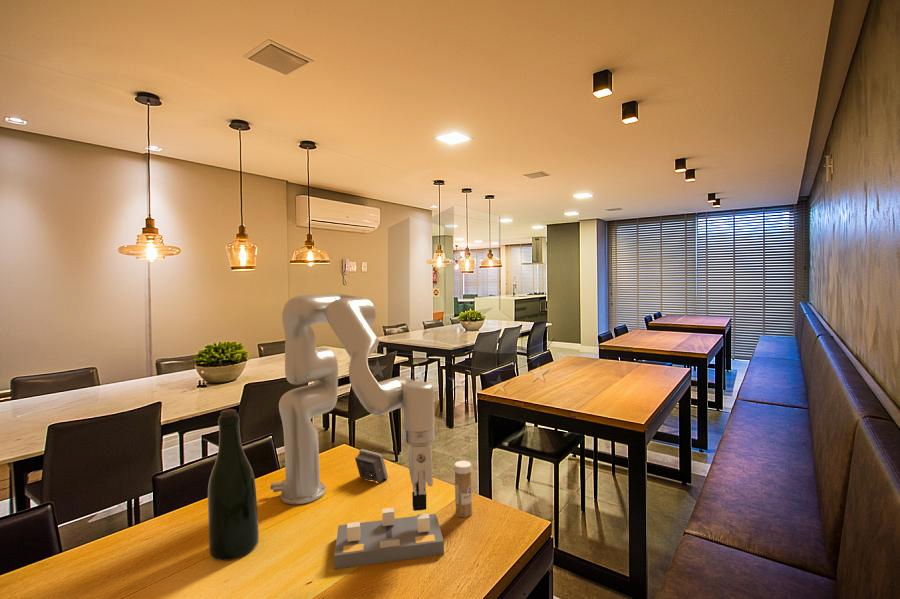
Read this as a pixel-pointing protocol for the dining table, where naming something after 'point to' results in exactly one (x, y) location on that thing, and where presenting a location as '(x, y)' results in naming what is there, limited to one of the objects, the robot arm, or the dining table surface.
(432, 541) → the switch panel
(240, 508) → the beer bottle
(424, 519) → the slider right
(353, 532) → the slider left
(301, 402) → the robot arm
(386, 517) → the slider middle
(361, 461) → the electrical switch
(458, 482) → the sprinkles bottle
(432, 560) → the dining table surface
